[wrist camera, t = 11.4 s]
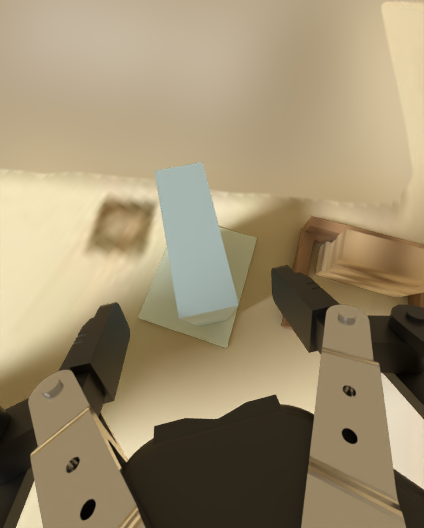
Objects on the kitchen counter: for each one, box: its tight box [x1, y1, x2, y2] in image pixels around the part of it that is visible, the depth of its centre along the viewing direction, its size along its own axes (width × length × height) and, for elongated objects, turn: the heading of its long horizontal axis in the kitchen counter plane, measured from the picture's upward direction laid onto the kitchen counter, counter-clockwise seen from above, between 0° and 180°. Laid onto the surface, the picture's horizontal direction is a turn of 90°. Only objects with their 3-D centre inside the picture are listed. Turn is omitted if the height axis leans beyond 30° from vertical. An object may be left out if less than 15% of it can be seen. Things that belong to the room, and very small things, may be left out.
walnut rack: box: [281, 216, 424, 330], centre depth 23 cm, size 14×12×3 cm
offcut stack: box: [315, 229, 424, 298], centre depth 23 cm, size 9×4×5 cm, turn 72°
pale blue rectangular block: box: [155, 162, 239, 327], centre depth 18 cm, size 3×9×13 cm, turn 12°
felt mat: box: [138, 227, 257, 348], centre depth 25 cm, size 10×13×1 cm
